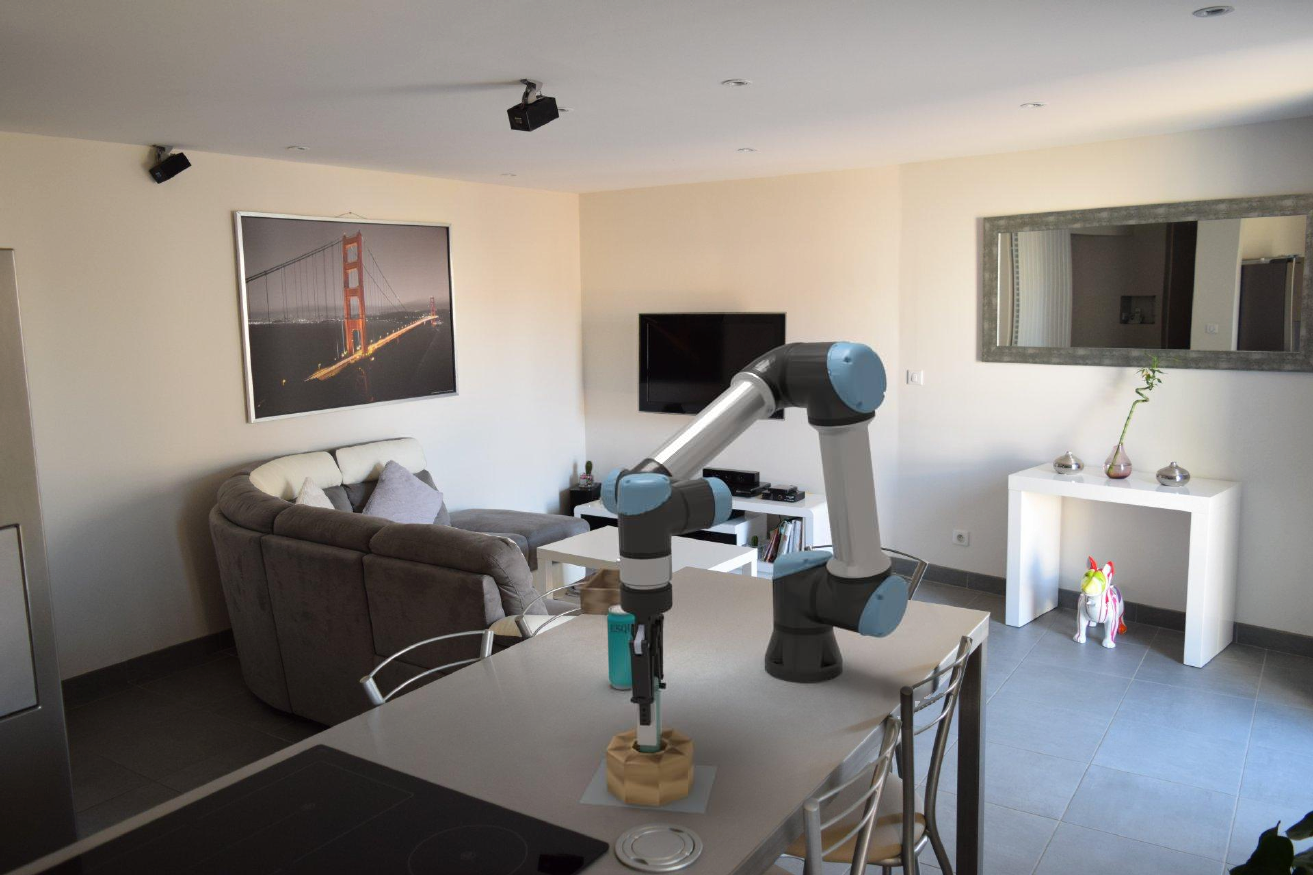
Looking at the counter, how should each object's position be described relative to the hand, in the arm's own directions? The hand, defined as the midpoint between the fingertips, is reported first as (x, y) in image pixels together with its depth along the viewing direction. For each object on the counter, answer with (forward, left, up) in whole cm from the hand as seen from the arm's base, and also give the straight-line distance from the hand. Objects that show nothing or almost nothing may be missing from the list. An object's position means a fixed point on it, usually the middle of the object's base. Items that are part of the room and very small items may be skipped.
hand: (649, 737), depth 137 cm
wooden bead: (0, 0, -7) cm, 7 cm away
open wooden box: (+26, -89, -8) cm, 93 cm away
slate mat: (0, 0, -8) cm, 8 cm away
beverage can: (+13, -38, -8) cm, 40 cm away
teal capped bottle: (0, 0, -5) cm, 5 cm away
